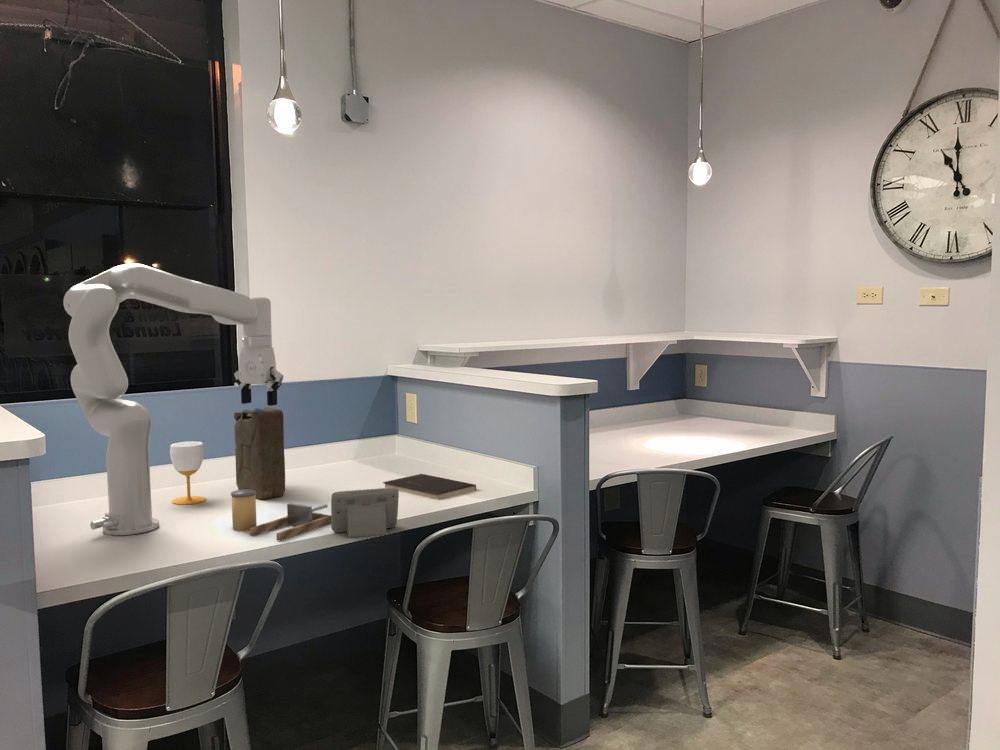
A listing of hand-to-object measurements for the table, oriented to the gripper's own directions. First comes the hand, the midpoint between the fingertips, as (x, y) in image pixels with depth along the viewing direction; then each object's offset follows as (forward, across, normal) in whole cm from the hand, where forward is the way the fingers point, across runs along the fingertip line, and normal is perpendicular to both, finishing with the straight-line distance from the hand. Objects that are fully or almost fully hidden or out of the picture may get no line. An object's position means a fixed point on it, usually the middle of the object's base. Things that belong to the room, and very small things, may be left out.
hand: (259, 404), depth 225 cm
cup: (+27, -18, -10) cm, 34 cm away
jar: (+27, +17, -23) cm, 39 cm away
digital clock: (+27, +45, -11) cm, 54 cm away
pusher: (+27, +28, -11) cm, 40 cm away
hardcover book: (+28, +34, +33) cm, 55 cm away
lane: (+27, +28, -18) cm, 43 cm away
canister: (+27, -6, +6) cm, 29 cm away
